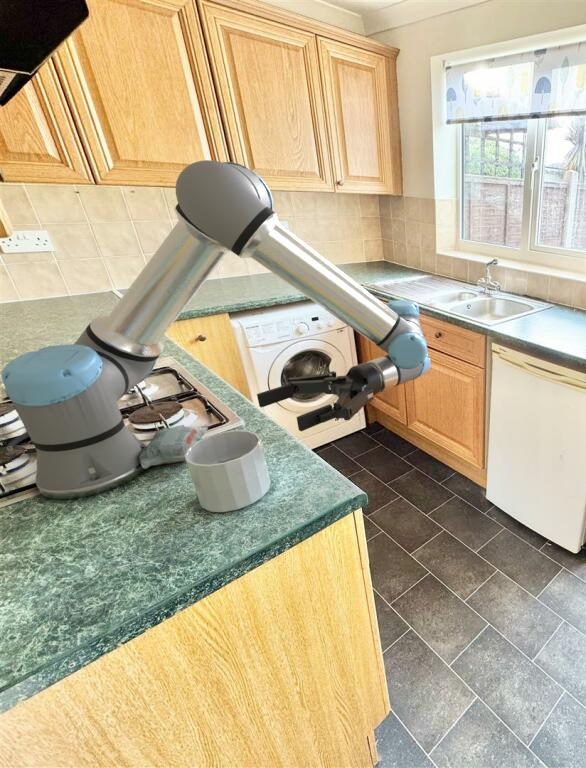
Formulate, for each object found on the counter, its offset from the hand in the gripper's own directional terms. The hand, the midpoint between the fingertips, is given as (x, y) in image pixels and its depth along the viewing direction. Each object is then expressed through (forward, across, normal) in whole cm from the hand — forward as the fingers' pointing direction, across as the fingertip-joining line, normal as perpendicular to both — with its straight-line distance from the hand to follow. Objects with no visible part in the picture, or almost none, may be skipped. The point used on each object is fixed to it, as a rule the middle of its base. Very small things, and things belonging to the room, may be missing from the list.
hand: (277, 412), depth 78 cm
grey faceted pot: (+10, 0, -13) cm, 16 cm away
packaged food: (+11, +20, -13) cm, 27 cm away
